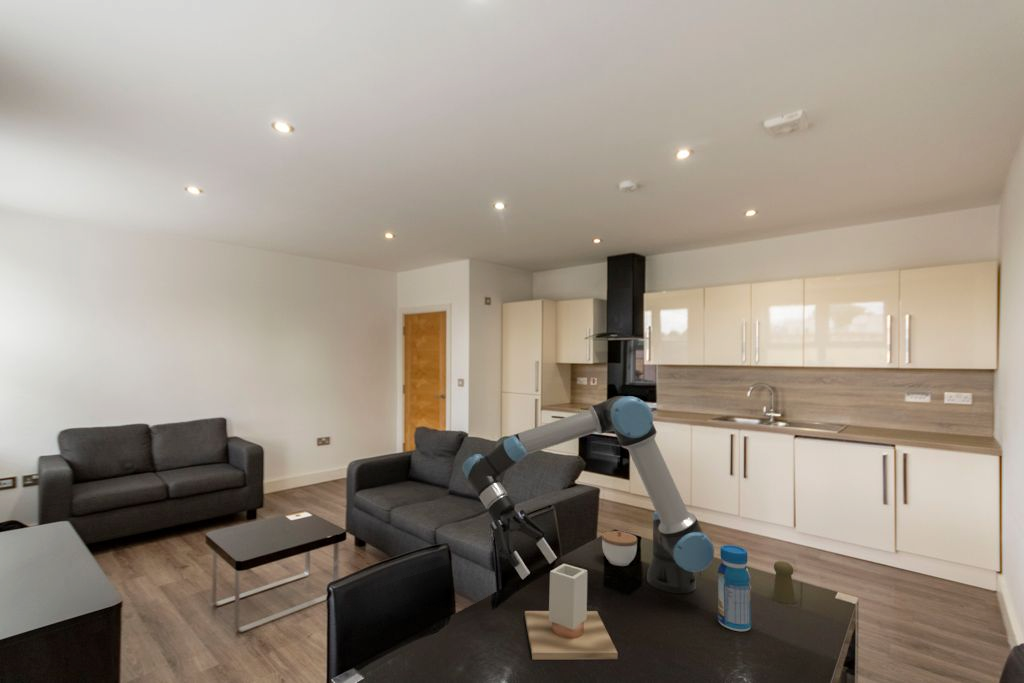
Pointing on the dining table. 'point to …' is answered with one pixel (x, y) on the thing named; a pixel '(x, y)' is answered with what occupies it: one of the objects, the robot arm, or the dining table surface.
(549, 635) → the post board
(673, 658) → the dining table surface
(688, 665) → the dining table surface
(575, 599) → the sleeve
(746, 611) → the beverage bottle
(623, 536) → the white lidded jar
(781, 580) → the olive pepper shaker
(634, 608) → the dining table surface
